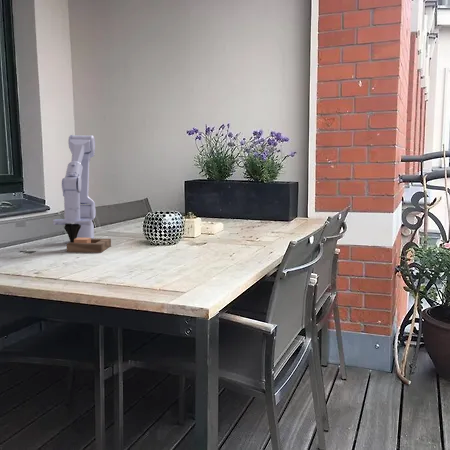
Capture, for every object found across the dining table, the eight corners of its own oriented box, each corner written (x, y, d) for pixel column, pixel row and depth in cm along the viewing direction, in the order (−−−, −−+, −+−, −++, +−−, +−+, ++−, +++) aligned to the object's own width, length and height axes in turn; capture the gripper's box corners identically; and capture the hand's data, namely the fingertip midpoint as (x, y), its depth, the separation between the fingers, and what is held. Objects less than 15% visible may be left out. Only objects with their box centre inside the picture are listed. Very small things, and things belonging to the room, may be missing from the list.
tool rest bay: (78, 245, 204) (78, 238, 204) (111, 246, 204) (110, 238, 203) (66, 251, 190) (66, 243, 190) (101, 252, 190) (101, 244, 190)
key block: (78, 247, 200) (78, 237, 199) (91, 247, 199) (90, 237, 199) (74, 249, 195) (73, 239, 194) (87, 250, 194) (86, 239, 194)
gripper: (49, 209, 192) (50, 245, 193) (87, 209, 191) (88, 245, 193) (56, 207, 199) (57, 242, 200) (93, 208, 198) (94, 242, 200)
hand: (73, 243), depth 197 cm, fingers closed
